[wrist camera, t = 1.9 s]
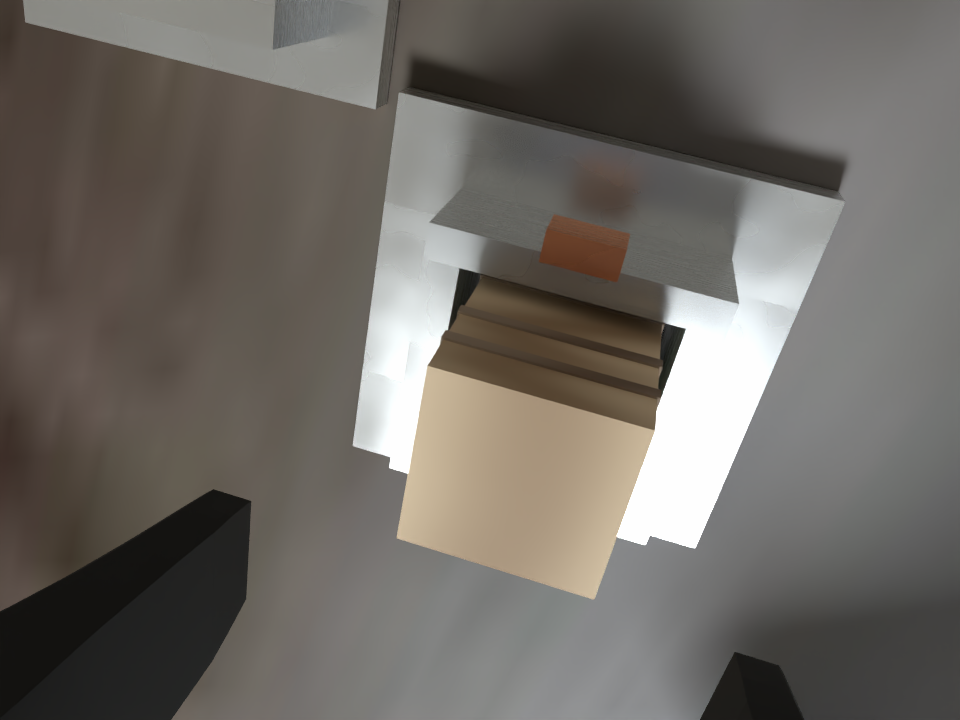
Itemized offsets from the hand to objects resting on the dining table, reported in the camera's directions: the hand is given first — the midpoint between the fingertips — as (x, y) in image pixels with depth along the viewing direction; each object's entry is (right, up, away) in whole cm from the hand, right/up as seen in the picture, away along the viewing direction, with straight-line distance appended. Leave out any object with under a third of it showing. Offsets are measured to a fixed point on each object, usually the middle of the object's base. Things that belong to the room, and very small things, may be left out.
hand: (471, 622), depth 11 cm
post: (+2, +5, +9) cm, 10 cm away
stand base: (+2, +5, +9) cm, 10 cm away
